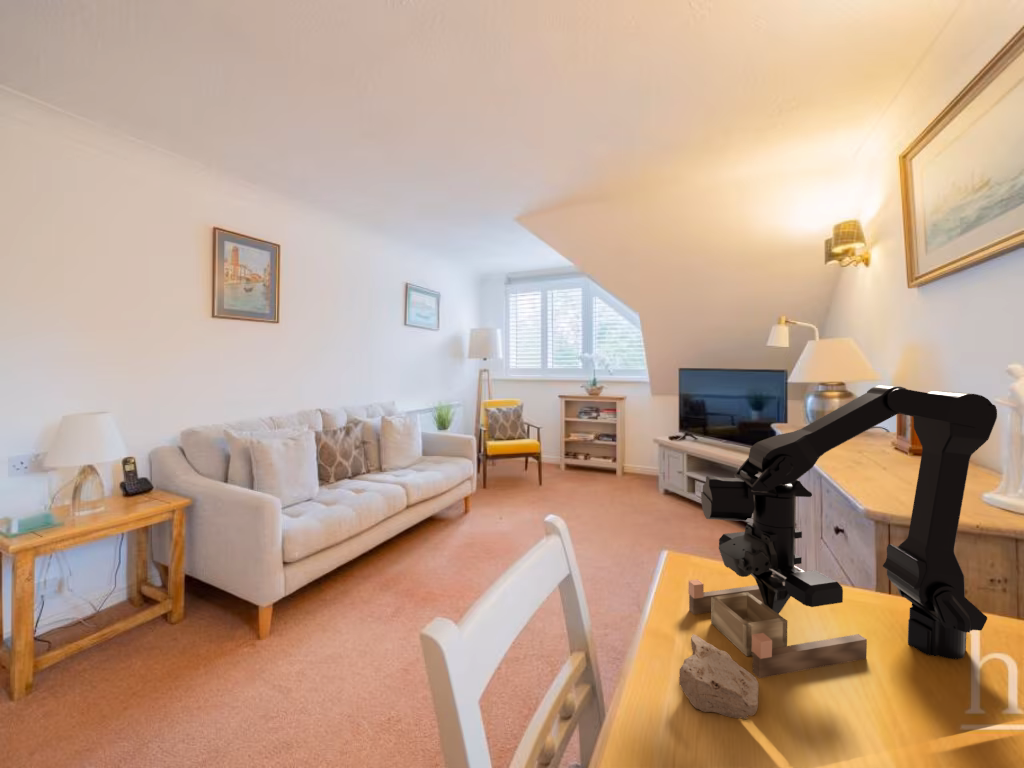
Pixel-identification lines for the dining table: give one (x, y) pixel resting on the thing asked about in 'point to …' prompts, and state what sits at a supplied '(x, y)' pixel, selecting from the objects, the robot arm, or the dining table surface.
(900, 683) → the dining table surface
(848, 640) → the bay
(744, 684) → the stone
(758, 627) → the box
